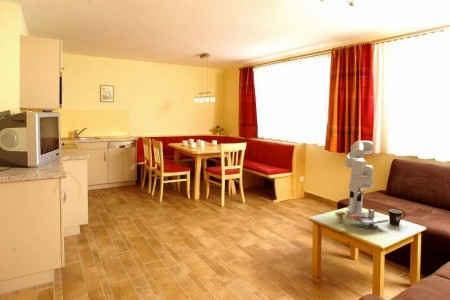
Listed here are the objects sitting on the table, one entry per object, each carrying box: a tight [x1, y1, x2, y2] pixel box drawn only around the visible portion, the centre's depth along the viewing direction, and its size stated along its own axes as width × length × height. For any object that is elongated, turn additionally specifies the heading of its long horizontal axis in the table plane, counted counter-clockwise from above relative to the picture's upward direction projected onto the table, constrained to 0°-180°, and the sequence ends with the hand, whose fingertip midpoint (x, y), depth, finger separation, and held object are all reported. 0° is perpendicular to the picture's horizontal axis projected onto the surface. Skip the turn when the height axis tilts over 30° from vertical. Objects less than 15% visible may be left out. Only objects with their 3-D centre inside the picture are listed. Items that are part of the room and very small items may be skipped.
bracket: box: [348, 213, 361, 221], centre depth 216 cm, size 6×8×3 cm
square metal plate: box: [346, 208, 389, 229], centre depth 220 cm, size 18×21×12 cm
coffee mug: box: [388, 208, 406, 227], centre depth 224 cm, size 12×9×10 cm
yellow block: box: [334, 211, 346, 224], centre depth 228 cm, size 3×7×8 cm, turn 109°
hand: (355, 199), depth 221 cm, fingers open, 9 cm apart
